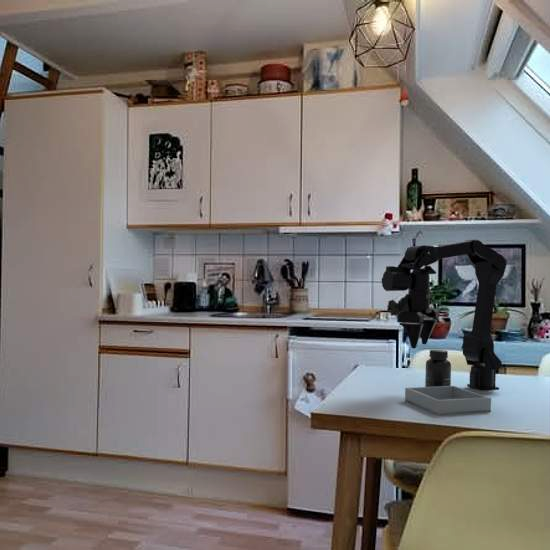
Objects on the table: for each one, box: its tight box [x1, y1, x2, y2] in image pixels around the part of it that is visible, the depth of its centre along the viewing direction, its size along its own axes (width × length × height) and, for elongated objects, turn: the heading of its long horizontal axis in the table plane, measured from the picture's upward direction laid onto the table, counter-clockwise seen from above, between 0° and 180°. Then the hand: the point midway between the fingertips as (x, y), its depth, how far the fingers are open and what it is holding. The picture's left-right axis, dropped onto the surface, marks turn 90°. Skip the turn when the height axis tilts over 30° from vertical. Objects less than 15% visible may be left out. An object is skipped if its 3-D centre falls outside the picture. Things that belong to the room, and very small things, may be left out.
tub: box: [404, 385, 492, 416], centre depth 130 cm, size 15×15×4 cm
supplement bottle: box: [424, 349, 452, 387], centre depth 146 cm, size 7×7×12 cm
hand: (419, 346), depth 145 cm, fingers open, 9 cm apart
